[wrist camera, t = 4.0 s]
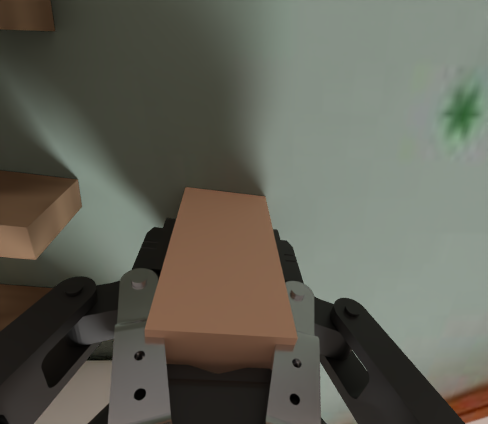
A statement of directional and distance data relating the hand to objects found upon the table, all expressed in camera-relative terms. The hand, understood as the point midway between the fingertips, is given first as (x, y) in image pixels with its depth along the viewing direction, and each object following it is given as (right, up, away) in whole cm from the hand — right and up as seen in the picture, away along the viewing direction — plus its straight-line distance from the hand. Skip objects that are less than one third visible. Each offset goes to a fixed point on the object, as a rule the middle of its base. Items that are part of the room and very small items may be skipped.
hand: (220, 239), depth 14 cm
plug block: (0, +1, +1) cm, 1 cm away
